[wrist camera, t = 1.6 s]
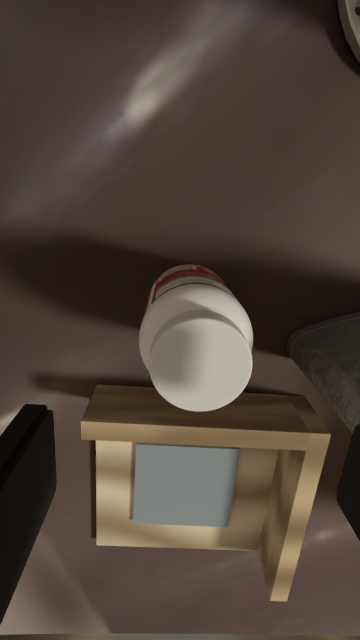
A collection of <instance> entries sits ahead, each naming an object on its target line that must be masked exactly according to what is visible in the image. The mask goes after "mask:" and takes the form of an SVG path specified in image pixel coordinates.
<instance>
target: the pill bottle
mask: <svg viewBox="0 0 360 640" xmlns="http://www.w3.org/2000/svg"><path fill="white" fill-rule="evenodd" d="M252 347H253V330H252V326H251V323H250V320H249V317H248V315H247V313H246V312H245V310H244V309H243V307H242V305H241V304H240V303H239V302H238V300H237V299H236V298H235V296H234V295H233V294H232V293H231V291H230V290H229V289H228V287H227V286H226V285H225V283H224V282H223V281H222V279H221V278H220V277H219V276H218V275H216V274H215V273H214V272H212V271H211V270H209V269H207V268H205V267H202V266H199V265H192V264H187V265H180V266H176V267H173V268H171V269H169V270H167V271H166V272H165V273H163V274H162V275H161V276H160V277H159V278H158V279H157V280H156V282H155V283H154V285H153V286H152V288H151V290H150V293H149V296H148V300H147V304H146V308H145V311H144V315H143V319H142V323H141V327H140V334H139V348H140V353H141V357H142V359H143V362H144V364H145V366H146V368H147V369H148V371H149V372H150V376H151V380H152V382H153V384H154V386H155V388H156V390H157V391H158V392H159V394H160V395H161V396H162V397H163V398H164V399H165V400H167V401H168V402H169V403H171V404H173V405H175V406H177V407H179V408H182V409H185V410H189V411H210V410H215V409H218V408H220V407H223V406H225V405H227V404H229V403H230V402H232V401H233V400H234V399H235V398H237V397H238V396H239V395H240V394H241V392H242V391H243V390H244V388H245V387H246V385H247V383H248V381H249V379H250V376H251V372H252V354H251V352H252Z"/></svg>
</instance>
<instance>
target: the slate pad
mask: <svg viewBox="0 0 360 640" xmlns="http://www.w3.org/2000/svg"><path fill="white" fill-rule="evenodd" d="M240 450H241V449H240V447H223V446H202V445H182V444H162V443H142V442H137V443H136V462H135V487H134V512H133V524H159V525H184V526H210V527H228V524H229V518H230V512H231V505H232V499H233V493H234V487H235V481H236V475H237V469H238V463H239V456H240Z"/></svg>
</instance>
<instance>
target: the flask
mask: <svg viewBox="0 0 360 640" xmlns="http://www.w3.org/2000/svg"><path fill="white" fill-rule="evenodd" d="M286 349H287V352H288V354H289V355H290V357H291V358H292V359H293V360H294V361H295V363H296V364H297V365H298V366H299V368H300V369H301V370H302V371H303V373H304V374H305V375H306V376H307V378H308V379H309V380H310V381H311V383H312V384H313V385H314V386H315V388H316V389H317V390H318V391H319V393H320V394H321V395H322V396H323V398H324V399H325V400H326V401H327V403H328V404H329V405H330V406H331V407H332V409H333V410H334V411H335V412H336V414H337V415H338V416H339V417H340V419H341V420H342V421H343V422H344V424H345V425H346V426H347V427H348V429H349V430H350V431H351V432H352V434H353V431H354V428H355V426H356V425H359V424H360V312H355V313H351V314H347V315H343V316H339V317H335V318H331V319H328V320H324V321H321V322H318V323H315V324H312V325H309V326H307V327H304V328H301V329H299V330H297V331H295V332H294V333H292V334H291V335H290V337H289V338H288V341H287V344H286Z"/></svg>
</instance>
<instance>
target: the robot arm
mask: <svg viewBox="0 0 360 640" xmlns="http://www.w3.org/2000/svg"><path fill="white" fill-rule="evenodd" d="M338 8H339V16H340V20H341V24H342V27H343V30H344V33H345V37H346V40H347V42H348V44H349V45H350V47H351V49H352V51H353V53H354V55H355V57H356V58H357V60H358V61H359V62H360V0H338ZM355 12H356V13H357V14H358V16H357V15H356V13H355ZM55 490H56V460H55V440H54V419H53V411H52V410H47V406H46V405H35V404H25V405H24V406H23V407H22V409H21V410H20V411H19V413H18V414H17V415H16V416H15V418H14V419H13V420H12V422H11V423H10V424H9V425H8V427H7V428H6V429H5V431H4V432H3V433H2V435H1V436H0V624H1V622H2V620H3V618H4V615H5V613H6V610H7V608H8V606H9V603H10V601H11V598H12V596H13V593H14V591H15V589H16V586H17V584H18V581H19V579H20V577H21V574H22V571H23V569H24V567H25V565H26V562H27V560H28V557H29V555H30V552H31V550H32V548H33V545H34V543H35V540H36V538H37V536H38V533H39V531H40V528H41V526H42V523H43V521H44V519H45V516H46V514H47V511H48V509H49V507H50V504H51V502H52V499H53V497H54V494H55ZM337 501H338V504H339V506H340V508H341V510H342V511H343V513H344V515H345V517H346V518H347V520H348V522H349V523H350V525H351V527H352V528H353V530H354V532H355V534H356V535H357V537H358V539H359V540H360V424H359V425H356V426H355V428H354V431H353V435H352V438H351V442H350V445H349V449H348V453H347V456H346V460H345V464H344V467H343V471H342V474H341V478H340V482H339V485H338V489H337ZM0 640H360V636H311V635H229V634H29V635H28V634H23V635H0Z"/></svg>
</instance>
